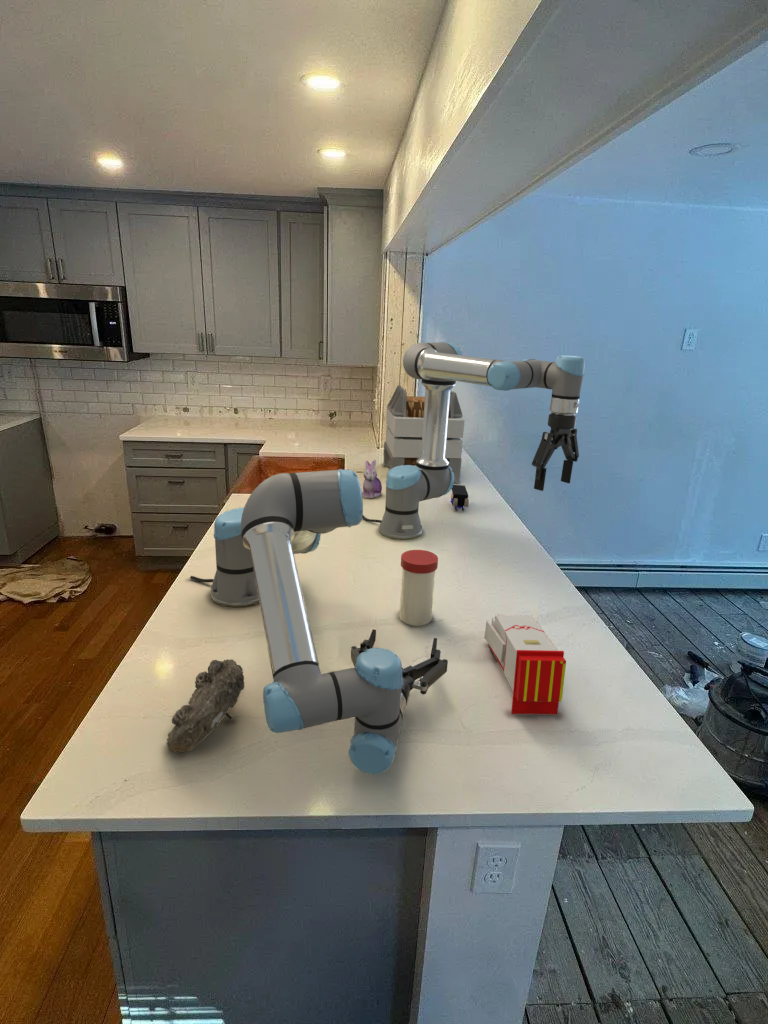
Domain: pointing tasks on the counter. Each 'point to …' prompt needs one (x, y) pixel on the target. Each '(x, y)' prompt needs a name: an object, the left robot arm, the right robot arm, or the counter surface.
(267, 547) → the left robot arm
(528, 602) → the counter surface
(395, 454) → the grey slatted crate
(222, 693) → the fossil
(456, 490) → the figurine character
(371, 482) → the figurine
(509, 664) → the toy
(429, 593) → the jar
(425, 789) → the counter surface
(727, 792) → the counter surface
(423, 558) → the lid
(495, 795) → the counter surface
